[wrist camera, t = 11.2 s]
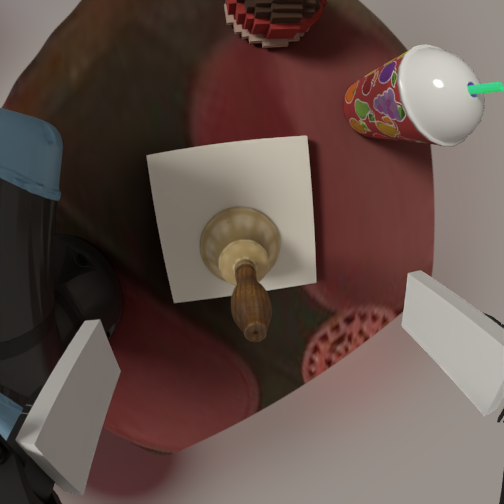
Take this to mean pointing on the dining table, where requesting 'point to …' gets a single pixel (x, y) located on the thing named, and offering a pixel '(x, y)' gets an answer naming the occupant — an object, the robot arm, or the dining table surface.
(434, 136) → the smoothie
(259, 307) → the hand bell
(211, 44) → the dining table surface
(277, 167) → the stand
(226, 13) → the cake
